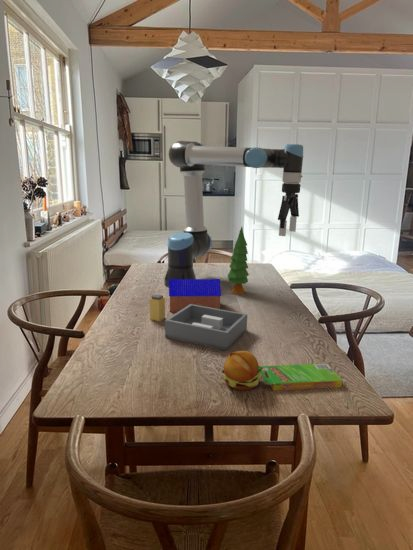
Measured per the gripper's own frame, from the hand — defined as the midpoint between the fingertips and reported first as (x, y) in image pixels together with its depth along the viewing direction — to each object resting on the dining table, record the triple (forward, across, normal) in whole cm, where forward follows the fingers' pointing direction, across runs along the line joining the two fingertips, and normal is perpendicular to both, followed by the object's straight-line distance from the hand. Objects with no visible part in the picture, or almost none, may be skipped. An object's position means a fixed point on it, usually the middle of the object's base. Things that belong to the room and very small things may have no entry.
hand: (287, 233), depth 179 cm
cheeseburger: (+27, -81, -16) cm, 87 cm away
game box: (+27, -71, -29) cm, 82 cm away
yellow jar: (+27, -55, +29) cm, 68 cm away
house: (+28, -37, +24) cm, 52 cm away
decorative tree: (+27, -10, +18) cm, 34 cm away
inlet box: (+27, -58, +7) cm, 64 cm away
